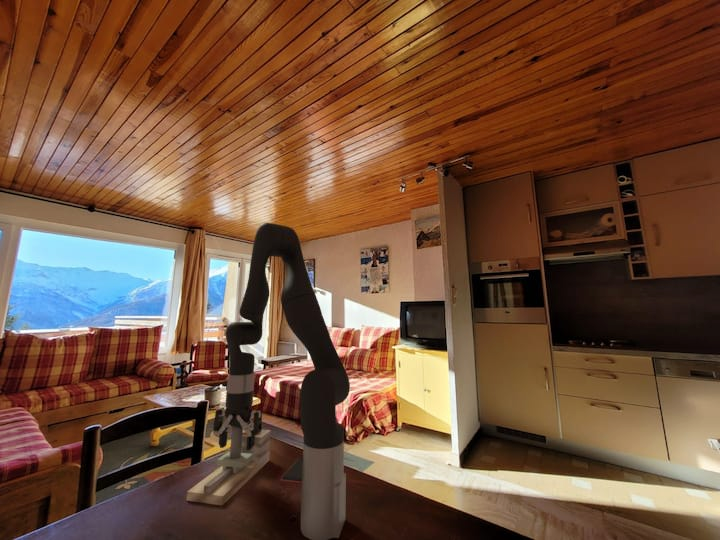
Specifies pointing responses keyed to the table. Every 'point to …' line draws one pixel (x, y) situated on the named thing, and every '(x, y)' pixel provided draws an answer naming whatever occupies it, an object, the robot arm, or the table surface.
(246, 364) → the robot arm
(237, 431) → the carriage
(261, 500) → the table surface
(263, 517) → the table surface
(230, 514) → the table surface
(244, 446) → the rail base
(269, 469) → the table surface
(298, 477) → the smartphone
